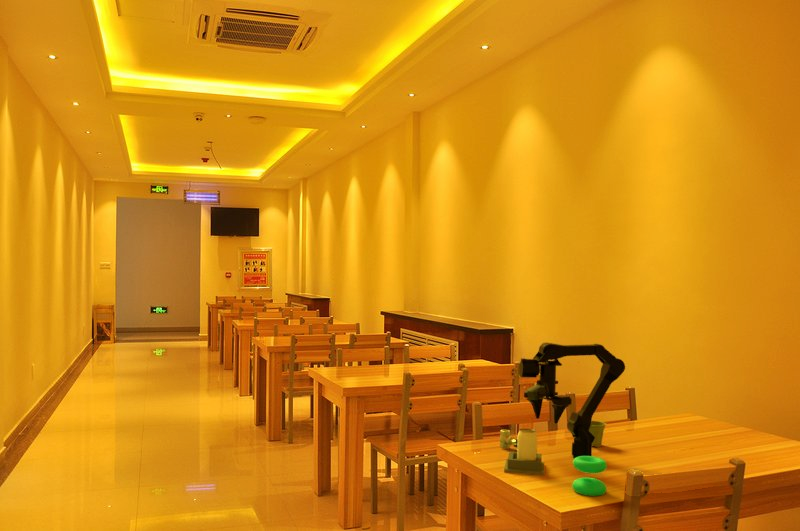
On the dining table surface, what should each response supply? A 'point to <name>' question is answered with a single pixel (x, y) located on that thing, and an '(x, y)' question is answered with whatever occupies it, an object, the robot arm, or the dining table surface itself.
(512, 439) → the valve
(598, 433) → the plant pot
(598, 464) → the donuts
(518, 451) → the can
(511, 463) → the socket holder
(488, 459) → the dining table surface
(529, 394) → the robot arm
